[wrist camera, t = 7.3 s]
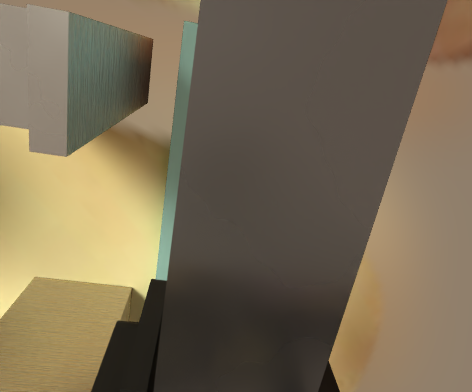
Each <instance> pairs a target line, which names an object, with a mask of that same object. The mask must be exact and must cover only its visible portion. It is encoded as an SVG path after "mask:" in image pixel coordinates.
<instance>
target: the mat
mask: <svg viewBox="0 0 472 392" xmlns="http://www.w3.org/2000/svg"><path fill="white" fill-rule="evenodd" d="M197 27H198V23H193V22H188V21H184V26H183V36H182V44H181V54H180V63H179V72H178V81H177V90H176V99H175V108H174V117H173V126H172V135H171V144H170V153H169V162H168V172H167V181H166V190H165V199H164V208H163V217H162V226H161V235H160V244H159V253H158V262H157V271H156V279H157V280H166V281H167V275H168V267H169V258H170V250H171V242H172V234H173V225H174V217H175V209H176V201H177V192H178V184H179V176H180V168H181V159H182V151H183V143H184V134H185V126H186V118H187V110H188V101H189V93H190V85H191V77H192V68H193V60H194V52H195V44H196V35H197Z"/></svg>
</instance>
